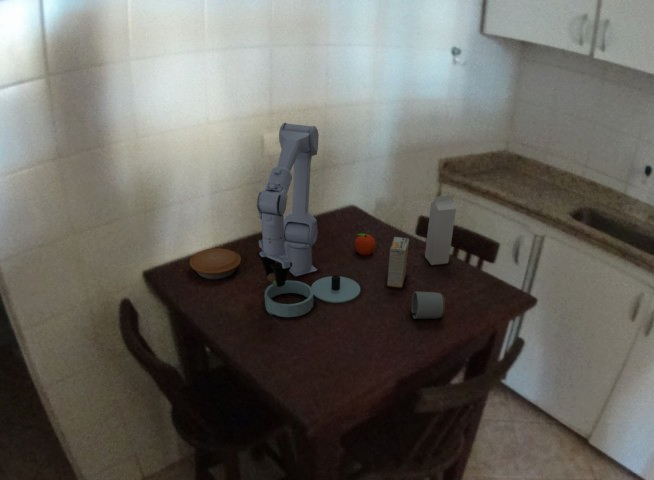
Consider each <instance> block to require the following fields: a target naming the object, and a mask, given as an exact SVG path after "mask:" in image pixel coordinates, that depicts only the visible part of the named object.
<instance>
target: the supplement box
mask: <svg viewBox="0 0 654 480" xmlns="http://www.w3.org/2000/svg"><path fill="white" fill-rule="evenodd" d="M409 243H410V238H407V237H398V236H394V237H393V239H392V242H391V246H390V247H389V257H388V258H389V260H388V273H387V282H386V286H387V287H391V288H400V289H402V288H403V285H404V281H405V278H406V273H407V264H408V256H409V255H408V254H409Z"/></svg>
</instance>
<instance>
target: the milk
mask: <svg viewBox="0 0 654 480" xmlns="http://www.w3.org/2000/svg"><path fill="white" fill-rule="evenodd" d="M454 198H455V197H454V195H453V194H450V195H449V194H447V195H437V196H435V198H434V201H432V202H430V208H429V216H428V217H429V218H428V226H427V234H426V243H425V250H424V258H425V259H426V260H427V261H428V263H429V264H430V265H431V266H435V265H445V264H449V261H450V254H451V248H452V241H453V234H454V233H453V232H454V225H455V220H456V213H457V207H456V203H455V201H454Z"/></svg>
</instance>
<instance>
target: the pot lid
mask: <svg viewBox="0 0 654 480" xmlns="http://www.w3.org/2000/svg"><path fill="white" fill-rule="evenodd" d="M310 287H311V288H312V290H313V297H315V298H316V299H318V300H319V301H322V302H326V303H331V304H341V303H347V302H351V301H353V300H355V299H356V298H358V297H359V296H360V294H361V286H360V284H359V283H358V282H356V281H355V280H354V279H352V278H349V277H346V276H339V275H333V276H331V275H330V276H324V277H321V278H319V279H317V280H315V281H314V282H313V283H312V284H311V285H310Z"/></svg>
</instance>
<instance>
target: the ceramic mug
mask: <svg viewBox="0 0 654 480" xmlns="http://www.w3.org/2000/svg"><path fill="white" fill-rule="evenodd" d="M445 310H446V299H445V296H444V295H443V293H441V292H435V291H433V292H432V291H414V292H413V294H412V297H411V313H412V318H413V319H414V320H429V319H430V320H432V319H435V320H437V319H440V318H442V317H443V316H444V314H445Z"/></svg>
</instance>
